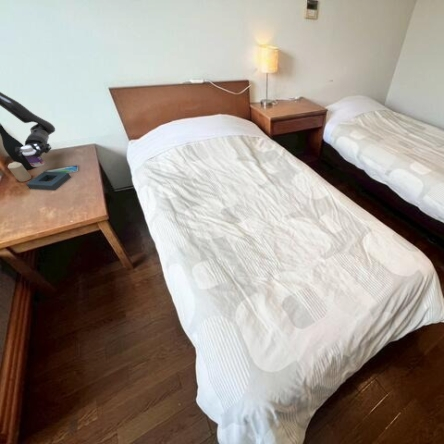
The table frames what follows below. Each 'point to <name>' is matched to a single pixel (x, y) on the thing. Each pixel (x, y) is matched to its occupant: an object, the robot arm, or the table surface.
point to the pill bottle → (32, 156)
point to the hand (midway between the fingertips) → (29, 156)
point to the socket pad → (42, 179)
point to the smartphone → (65, 169)
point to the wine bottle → (13, 148)
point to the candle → (19, 171)
